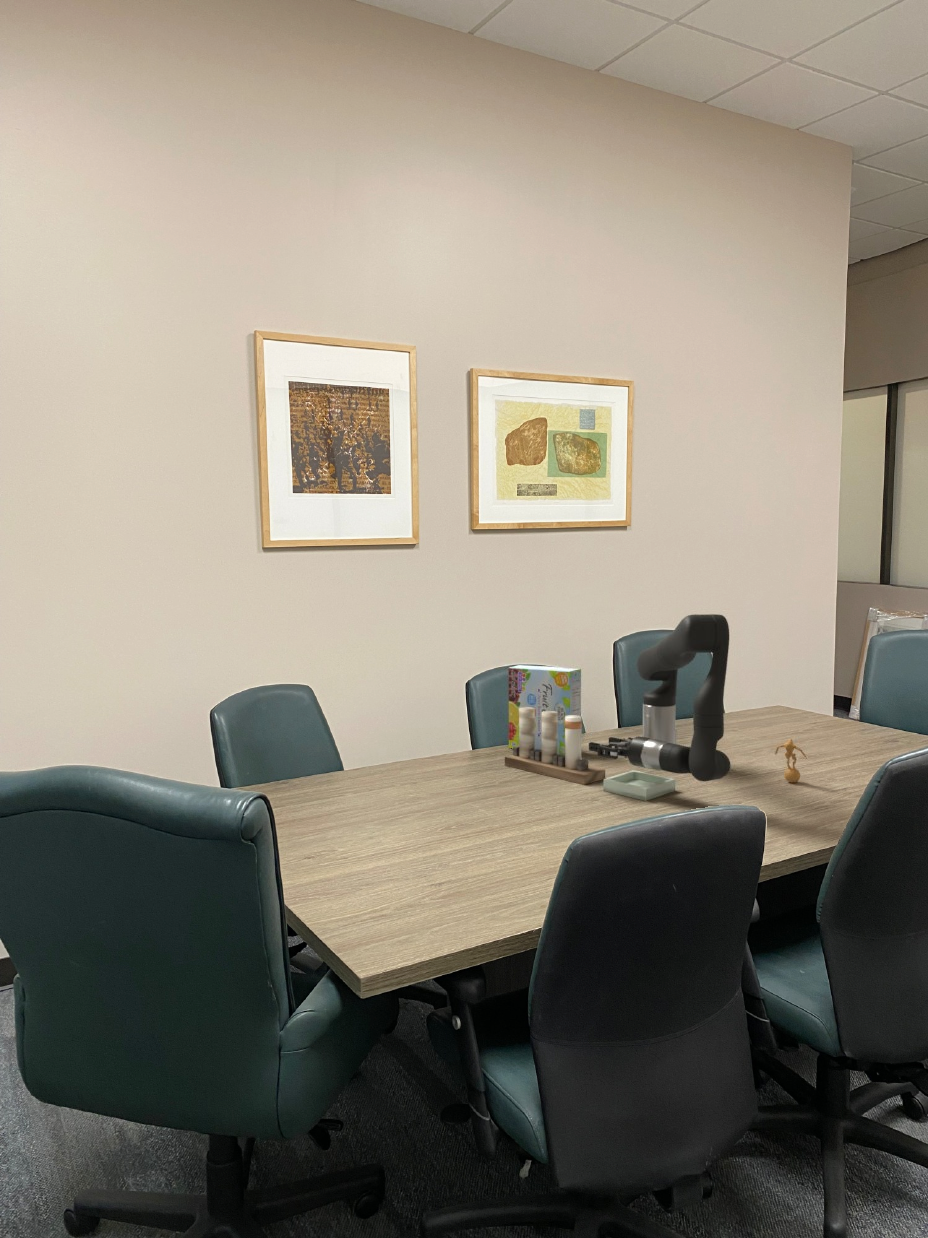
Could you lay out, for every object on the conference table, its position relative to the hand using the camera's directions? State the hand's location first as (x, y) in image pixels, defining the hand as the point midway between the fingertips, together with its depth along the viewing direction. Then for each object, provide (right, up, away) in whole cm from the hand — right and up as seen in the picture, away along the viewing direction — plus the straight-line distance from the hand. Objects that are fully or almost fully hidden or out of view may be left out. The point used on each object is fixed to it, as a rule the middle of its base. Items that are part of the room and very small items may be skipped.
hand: (599, 743), depth 232 cm
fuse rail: (-11, -10, +12) cm, 19 cm away
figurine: (+50, -11, -1) cm, 51 cm away
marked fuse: (-6, -8, +7) cm, 12 cm away
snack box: (-11, -8, +38) cm, 41 cm away
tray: (+9, -11, -7) cm, 16 cm away
